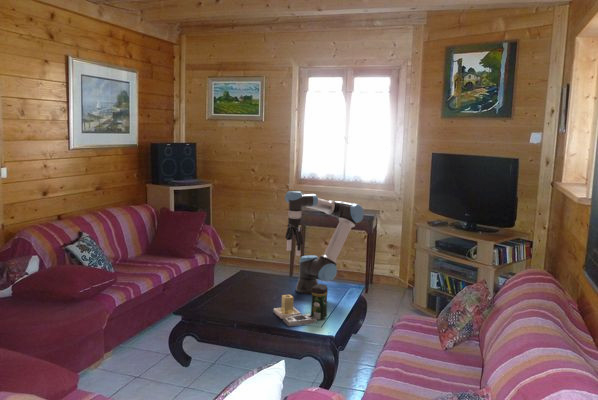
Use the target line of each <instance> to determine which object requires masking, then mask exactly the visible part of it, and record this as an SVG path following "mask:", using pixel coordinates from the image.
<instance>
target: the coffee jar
mask: <svg viewBox="0 0 598 400" xmlns="http://www.w3.org/2000/svg"><path fill="white" fill-rule="evenodd" d="M327 308H328V286H327V285H326V284H323V283H318V285H316V286H314V287H312V294H311V309H310V314H311V315H312V316H314V317H315V318H316V321H322V320H323V321H324V319H326V318H327V316H328V315H327V314H328V309H327Z"/></svg>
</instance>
